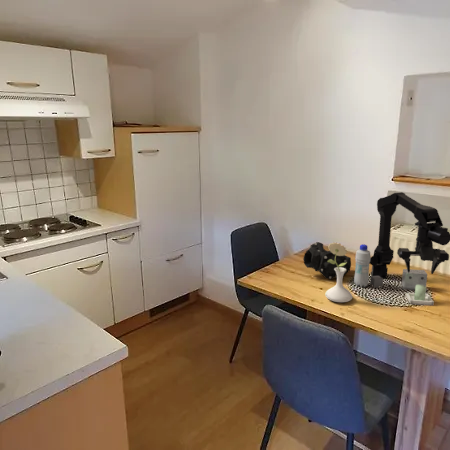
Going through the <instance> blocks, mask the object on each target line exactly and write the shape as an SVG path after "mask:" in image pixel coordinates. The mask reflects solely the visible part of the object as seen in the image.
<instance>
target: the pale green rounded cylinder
mask: <svg viewBox="0 0 450 450" xmlns="http://www.w3.org/2000/svg"><path fill="white" fill-rule="evenodd" d="M426 289H427V285H426V286H424V285H416V288H415V290H414V293H415V295H414V300H422V301H424V300H425V294H427V293H426V292H427V291H426Z"/></svg>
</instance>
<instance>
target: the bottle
mask: <svg viewBox="0 0 450 450" xmlns="http://www.w3.org/2000/svg"><path fill="white" fill-rule="evenodd" d="M368 247H369V246H368V245H367V244H364V243H363V244H360V246H359V249H357V250H356V252H355V269H354V270H355V271H354V278H353V283H354V285H355V286H356V287H360V288H362V287H363V288H365V287H367V286H368V284H369V281H370V280H369V273H370V272H369V271H370V264H369V263H370V259H371V257H372V256H371V251H370V250H368V249H369V248H368Z"/></svg>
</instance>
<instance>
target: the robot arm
mask: <svg viewBox="0 0 450 450" xmlns="http://www.w3.org/2000/svg"><path fill="white" fill-rule="evenodd" d="M399 205H400V206H402V208H404V209H405V210H407V211H409V212H410V213H412V214H413V217H414V219H416V220H417V221H416V222H415V223H414V225H415V226H416V227H417V234H416V239H415V241H416V242H415V243H416V244H415V247H414V250H410V249H409V248H407V247H406V248H405V247H398V249H397V252H396V253H397V255H398V258H400V259H401V260H403V261H404V262H405V266H406V269H407V271H408V273H409V272H410V269H411V256H415V257H419V258H420V260H421V261H423V262H425V261H427V262H428V261H430V262H432V263H431V268H430V270H431V271H430V273H431V275H433V274H434V273H435V271H436V269H437V268H438V267H439V265H440V264H442V263H445V262H446V261H449V260H450V254H449V253H448V252H447V251H446V250H445V249H440V248H434V247H433V245H434V244H433V243H435V244H438V245H441V246H446V245H448V244H449V243H450V232H449V228H448V227H443V226H444V224H443V221H442V219H441V217H440V214H439V211H438V210H437V208H435V207H432V206H429V205H424V204H421V203H420V202H418V201H417V200H415V199H413V198H412V197H410V196H408V195H406V193H405V192H402V191H399V192H394V193H392V194H390V195H387V196H384V197H380V198H379V199H378V200H377V201H376V209H377V212H378V214H379V216H380V218H379V227H378V228H379V229H378V231H379V232H378V241H377V242H378V243H377V246H376V247H375V249H374V252H373V255H372V256H371V259H370V263H369V265H371V272H370V276H380V277H381V278H382V279H387V277H388V271H389V270H388V266H389V265H390V264H391V262H392V261H393V259H394V252H395V251H394V249H392V248H391V246H390V243H391V242H390V241H391V230H392V218H393V215H394V214H395V212H396V211H397V206H399Z"/></svg>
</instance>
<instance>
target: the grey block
mask: <svg viewBox="0 0 450 450" xmlns="http://www.w3.org/2000/svg"><path fill="white" fill-rule="evenodd" d="M369 281H370V283H369V284H370V285H371V284H372V285H373V286H374V287H373V286H372V285H371V286H372V287H373V288H380V287H379V286H382V287H383V284H384V278H381V277H380V276H372V275H370V280H369Z"/></svg>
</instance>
